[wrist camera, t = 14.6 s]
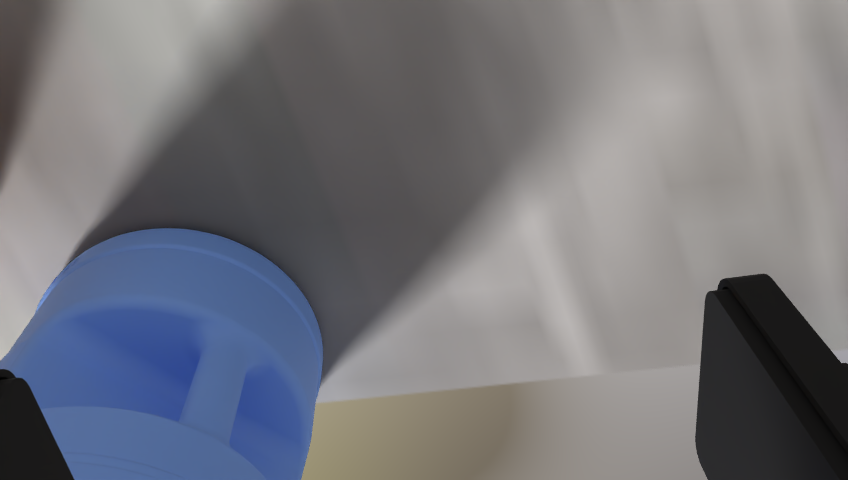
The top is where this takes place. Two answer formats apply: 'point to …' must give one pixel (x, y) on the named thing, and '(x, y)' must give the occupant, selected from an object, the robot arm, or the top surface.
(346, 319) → the top surface
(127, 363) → the water jug
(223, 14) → the top surface
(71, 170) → the top surface
